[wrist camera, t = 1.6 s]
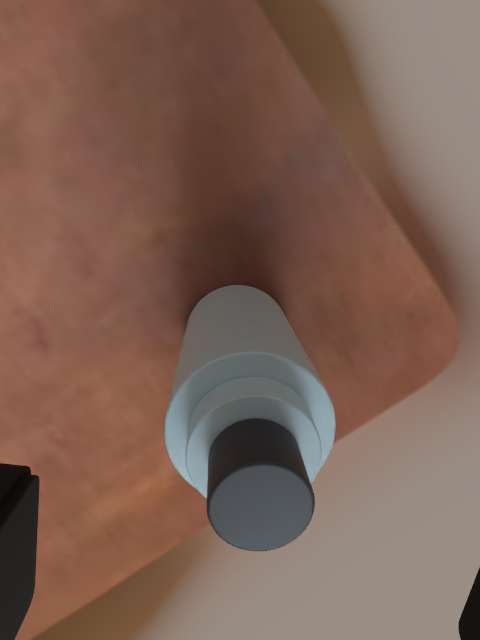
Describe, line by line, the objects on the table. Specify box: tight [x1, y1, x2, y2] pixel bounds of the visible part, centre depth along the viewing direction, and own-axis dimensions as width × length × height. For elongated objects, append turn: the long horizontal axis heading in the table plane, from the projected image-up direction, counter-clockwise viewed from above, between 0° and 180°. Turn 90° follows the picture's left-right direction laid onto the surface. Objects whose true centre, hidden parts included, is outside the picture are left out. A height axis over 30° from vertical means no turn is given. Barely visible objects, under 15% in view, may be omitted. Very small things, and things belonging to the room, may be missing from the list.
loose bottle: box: [164, 285, 336, 551], centre depth 15 cm, size 5×5×12 cm
